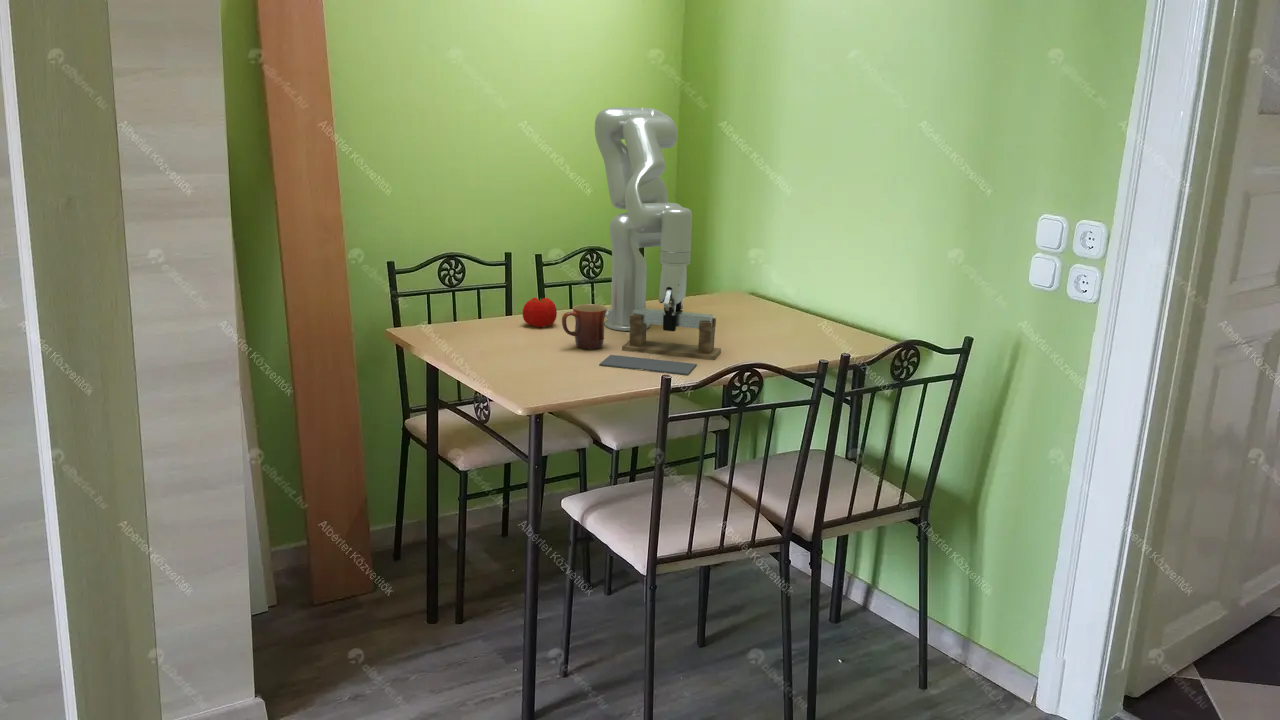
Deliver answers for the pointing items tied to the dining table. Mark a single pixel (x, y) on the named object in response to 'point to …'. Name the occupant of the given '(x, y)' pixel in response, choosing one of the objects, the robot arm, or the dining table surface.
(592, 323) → the mug
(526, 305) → the tomato
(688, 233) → the robot arm
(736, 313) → the dining table surface
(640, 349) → the rack
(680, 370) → the mat
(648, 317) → the rail
